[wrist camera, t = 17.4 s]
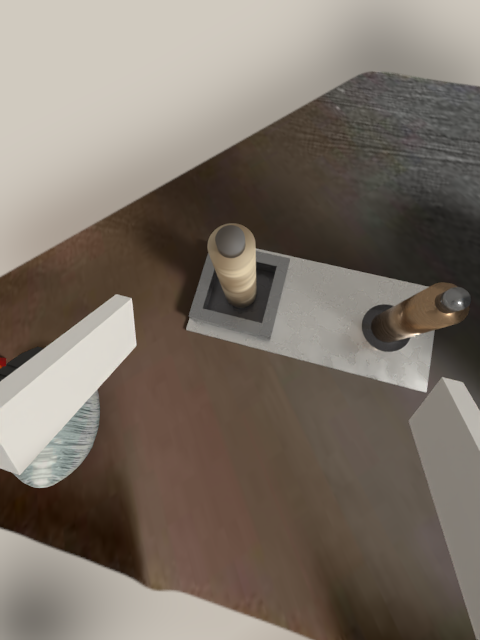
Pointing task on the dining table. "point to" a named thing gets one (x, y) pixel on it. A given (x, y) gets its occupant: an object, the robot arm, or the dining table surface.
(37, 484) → the spool
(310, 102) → the dining table surface
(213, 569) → the dining table surface
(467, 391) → the robot arm
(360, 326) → the bolt plate
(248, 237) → the birch leg peg
